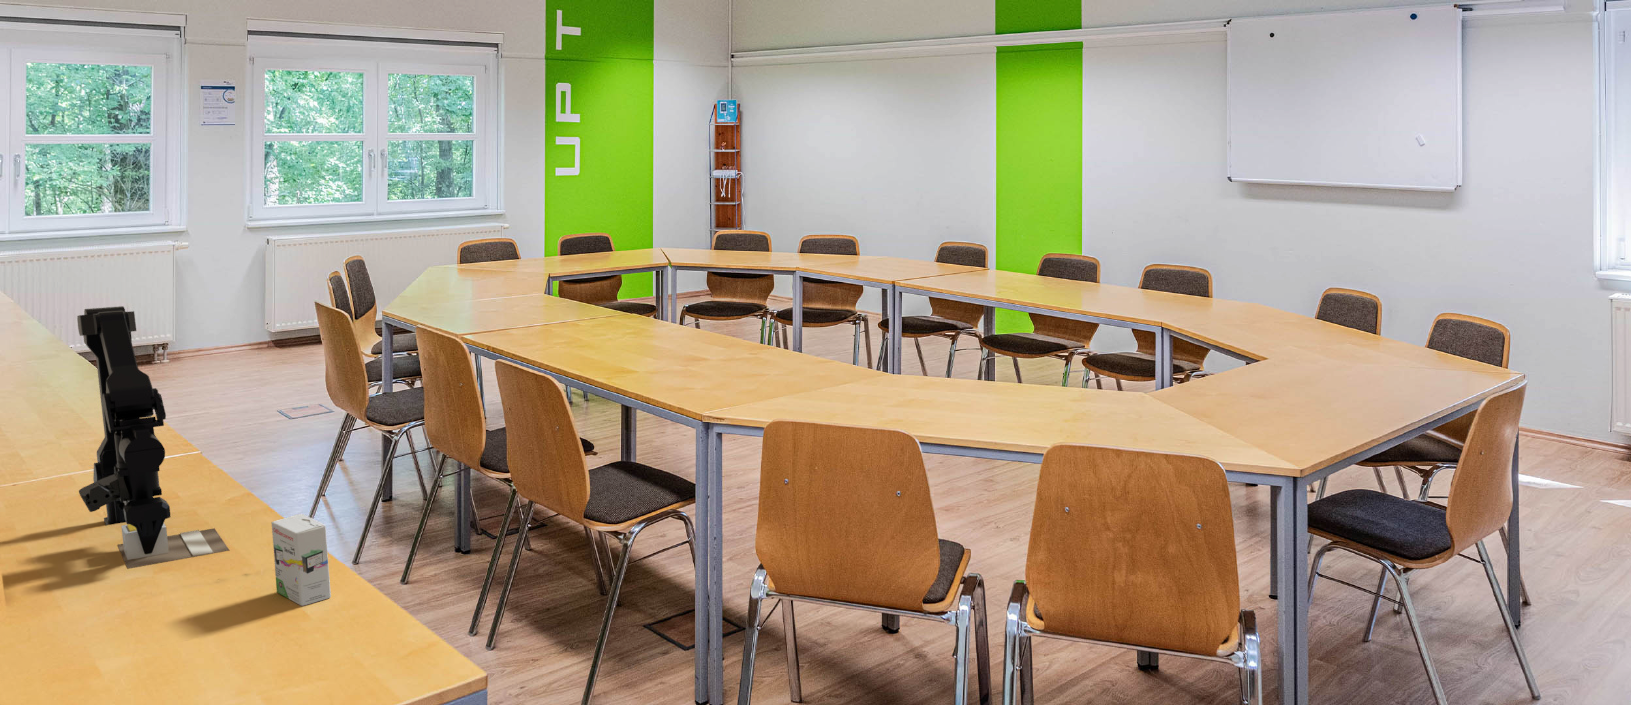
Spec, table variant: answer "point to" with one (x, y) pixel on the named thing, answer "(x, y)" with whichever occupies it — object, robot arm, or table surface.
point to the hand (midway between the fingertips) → (146, 549)
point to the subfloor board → (182, 548)
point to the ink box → (301, 559)
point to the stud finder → (134, 545)
